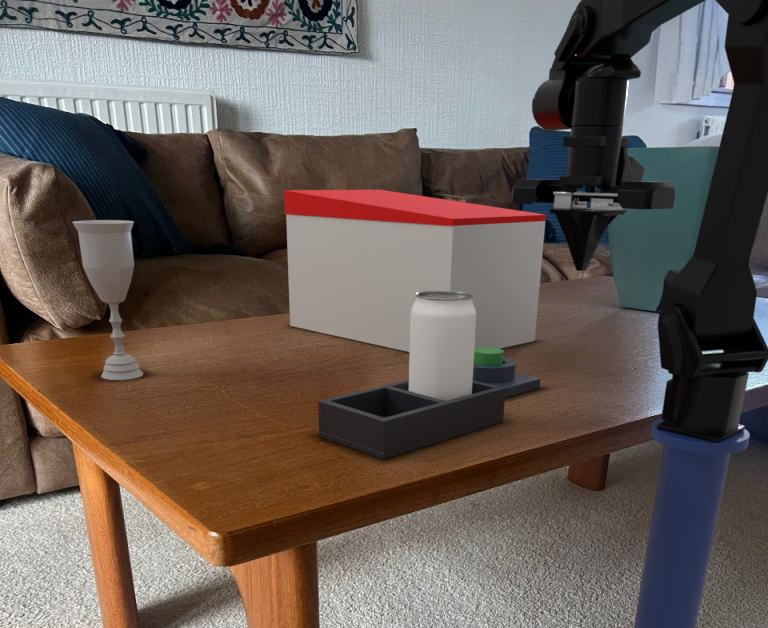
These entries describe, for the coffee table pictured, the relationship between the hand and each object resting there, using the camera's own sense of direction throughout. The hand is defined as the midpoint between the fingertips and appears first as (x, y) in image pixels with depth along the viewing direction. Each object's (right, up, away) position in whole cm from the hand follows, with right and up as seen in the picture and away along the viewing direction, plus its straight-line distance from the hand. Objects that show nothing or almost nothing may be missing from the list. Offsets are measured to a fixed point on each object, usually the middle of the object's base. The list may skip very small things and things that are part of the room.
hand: (581, 270), depth 95 cm
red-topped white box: (-20, -1, +31) cm, 37 cm away
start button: (-11, -12, -1) cm, 16 cm away
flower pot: (+30, +10, +57) cm, 65 cm away
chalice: (-57, -12, +3) cm, 58 cm away
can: (-18, -19, -14) cm, 30 cm away
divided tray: (-21, -21, -16) cm, 34 cm away
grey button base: (-11, -14, 0) cm, 18 cm away
